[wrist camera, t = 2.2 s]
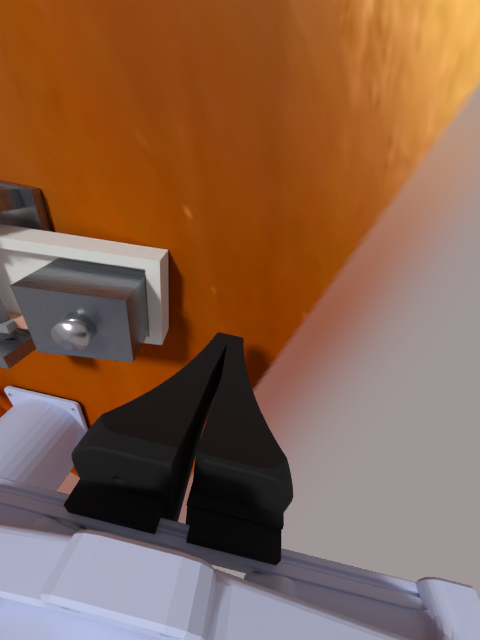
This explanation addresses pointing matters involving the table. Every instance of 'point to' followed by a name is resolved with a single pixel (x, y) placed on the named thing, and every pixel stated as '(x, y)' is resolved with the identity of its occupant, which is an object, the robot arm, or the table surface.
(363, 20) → the table surface
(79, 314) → the block
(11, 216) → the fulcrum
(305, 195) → the table surface
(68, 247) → the beam
